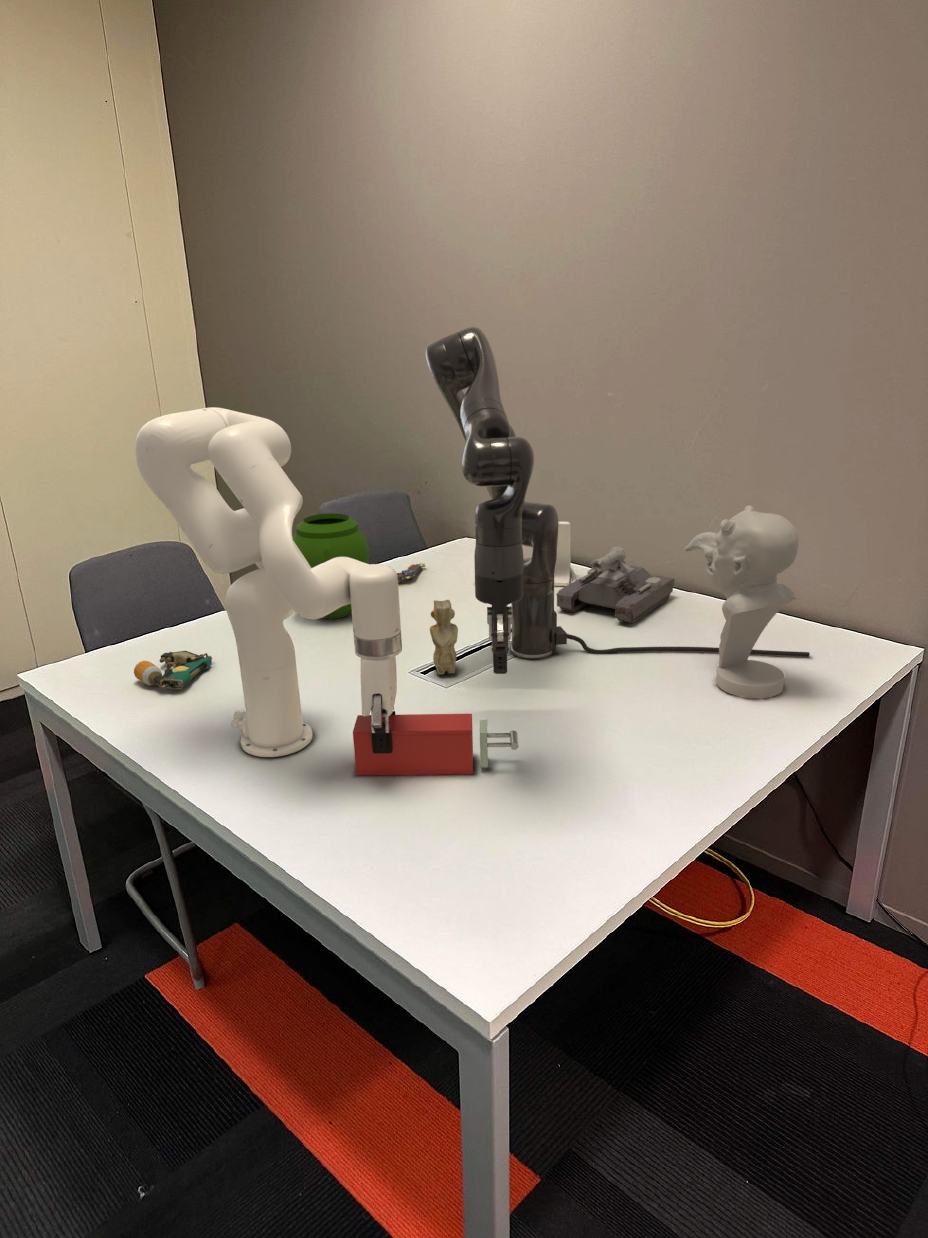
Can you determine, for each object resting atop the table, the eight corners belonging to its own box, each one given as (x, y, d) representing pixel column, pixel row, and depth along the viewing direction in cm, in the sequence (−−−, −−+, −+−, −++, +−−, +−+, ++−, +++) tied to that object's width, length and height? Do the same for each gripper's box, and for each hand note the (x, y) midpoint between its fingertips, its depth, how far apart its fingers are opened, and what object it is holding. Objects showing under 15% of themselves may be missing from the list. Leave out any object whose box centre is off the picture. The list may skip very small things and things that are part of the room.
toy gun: (374, 578, 232) (409, 575, 230) (392, 563, 250) (425, 560, 247) (376, 588, 232) (411, 585, 230) (394, 572, 250) (427, 569, 248)
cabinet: (473, 756, 146) (472, 713, 143) (472, 774, 140) (471, 730, 138) (360, 757, 146) (357, 715, 144) (356, 775, 141) (352, 731, 138)
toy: (603, 584, 229) (605, 530, 224) (673, 597, 218) (677, 540, 213) (555, 612, 210) (556, 553, 205) (630, 627, 199) (633, 566, 194)
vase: (389, 608, 216) (383, 514, 208) (339, 633, 201) (330, 533, 192) (330, 596, 226) (322, 506, 218) (278, 619, 211) (267, 523, 202)
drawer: (517, 752, 145) (517, 719, 143) (518, 767, 140) (518, 732, 138) (381, 754, 146) (378, 721, 143) (377, 768, 141) (375, 734, 139)
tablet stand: (569, 585, 229) (570, 524, 223) (476, 584, 232) (475, 523, 226) (570, 566, 246) (571, 508, 240) (484, 564, 249) (483, 507, 243)
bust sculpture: (717, 648, 186) (730, 489, 174) (806, 688, 166) (828, 512, 154) (660, 663, 179) (669, 500, 167) (745, 707, 159) (763, 525, 147)
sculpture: (458, 662, 183) (456, 596, 178) (460, 676, 176) (457, 608, 171) (431, 663, 183) (428, 597, 177) (431, 677, 176) (428, 609, 171)
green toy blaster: (177, 659, 191) (231, 671, 185) (120, 684, 176) (176, 698, 171) (176, 641, 190) (230, 653, 184) (118, 665, 175) (174, 678, 169)
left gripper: (361, 623, 144) (369, 719, 150) (346, 664, 128) (355, 769, 134) (406, 622, 144) (411, 718, 150) (396, 663, 127) (402, 769, 134)
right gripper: (475, 557, 137) (477, 656, 143) (474, 582, 125) (476, 690, 131) (521, 556, 137) (521, 655, 143) (525, 582, 125) (525, 689, 131)
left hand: (384, 741), depth 142 cm, fingers closed on cabinet, 5 cm apart
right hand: (500, 672), depth 137 cm, fingers closed
